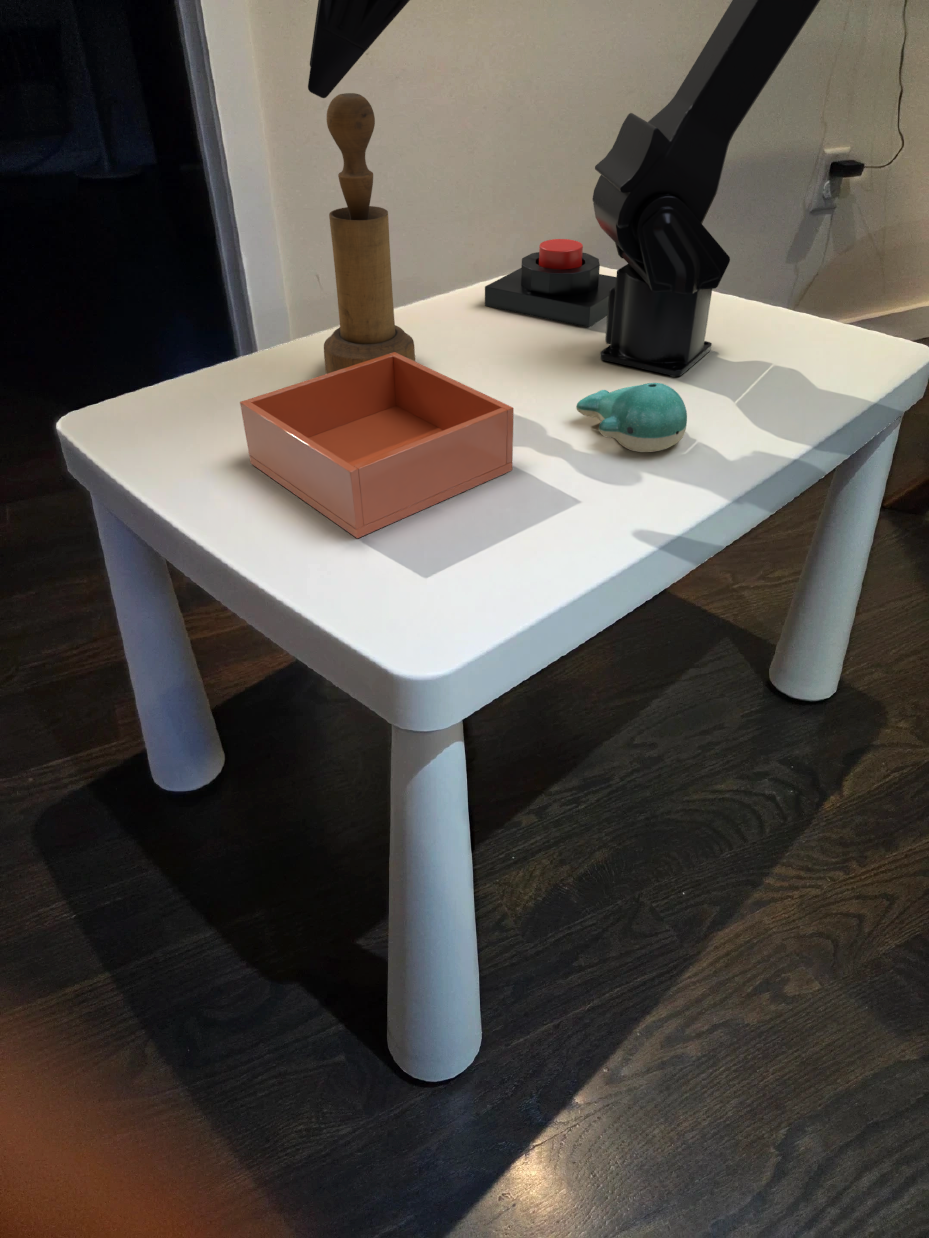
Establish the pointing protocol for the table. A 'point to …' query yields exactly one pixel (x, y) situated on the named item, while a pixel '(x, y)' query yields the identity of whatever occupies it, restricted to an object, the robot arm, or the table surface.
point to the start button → (560, 254)
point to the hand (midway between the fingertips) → (316, 82)
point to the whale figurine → (639, 416)
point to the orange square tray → (378, 440)
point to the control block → (554, 291)
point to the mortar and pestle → (360, 249)
